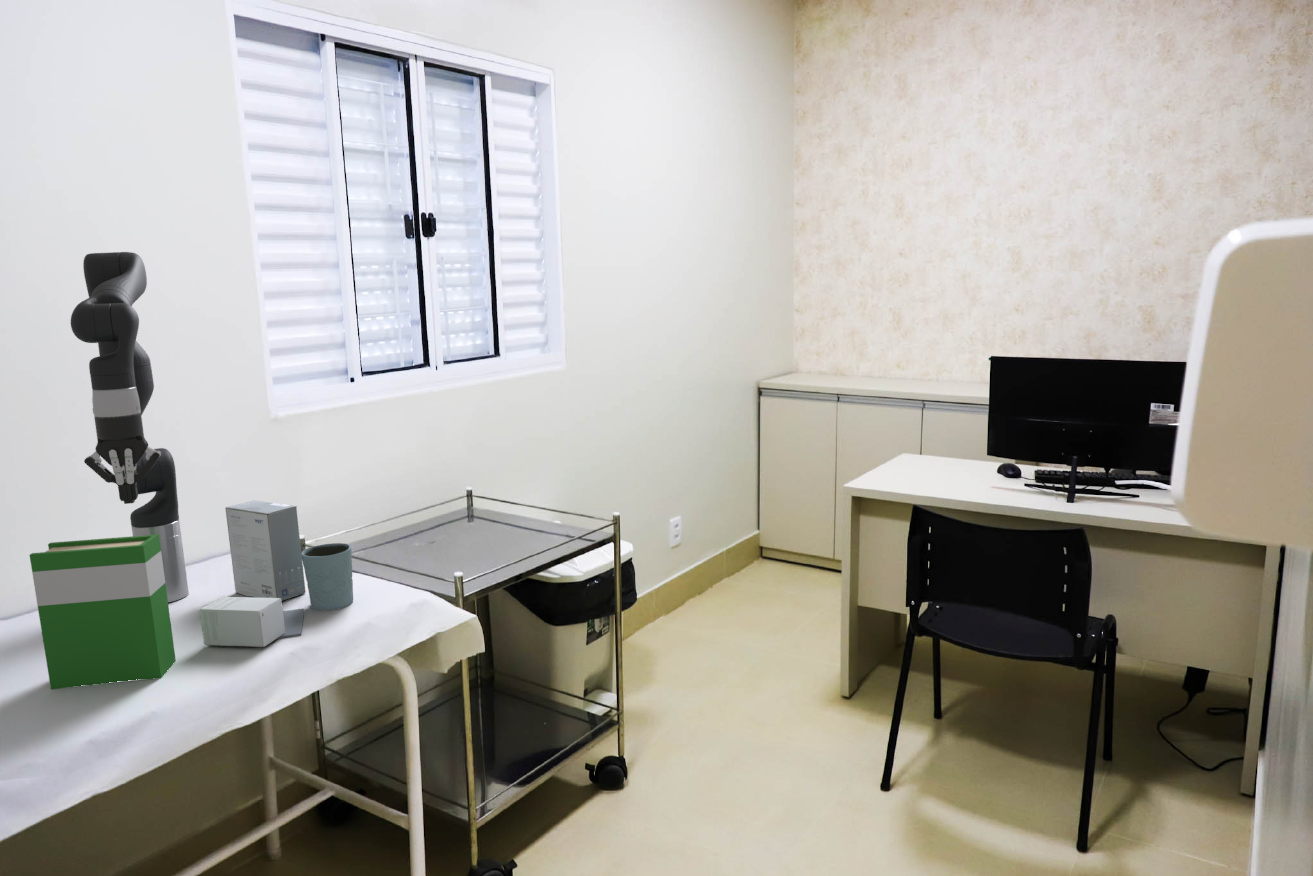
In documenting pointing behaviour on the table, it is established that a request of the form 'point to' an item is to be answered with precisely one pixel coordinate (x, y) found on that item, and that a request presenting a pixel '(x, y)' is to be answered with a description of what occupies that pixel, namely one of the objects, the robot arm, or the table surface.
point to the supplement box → (242, 621)
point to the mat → (293, 622)
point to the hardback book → (103, 610)
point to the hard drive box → (265, 550)
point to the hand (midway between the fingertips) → (129, 502)
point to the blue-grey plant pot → (329, 575)
